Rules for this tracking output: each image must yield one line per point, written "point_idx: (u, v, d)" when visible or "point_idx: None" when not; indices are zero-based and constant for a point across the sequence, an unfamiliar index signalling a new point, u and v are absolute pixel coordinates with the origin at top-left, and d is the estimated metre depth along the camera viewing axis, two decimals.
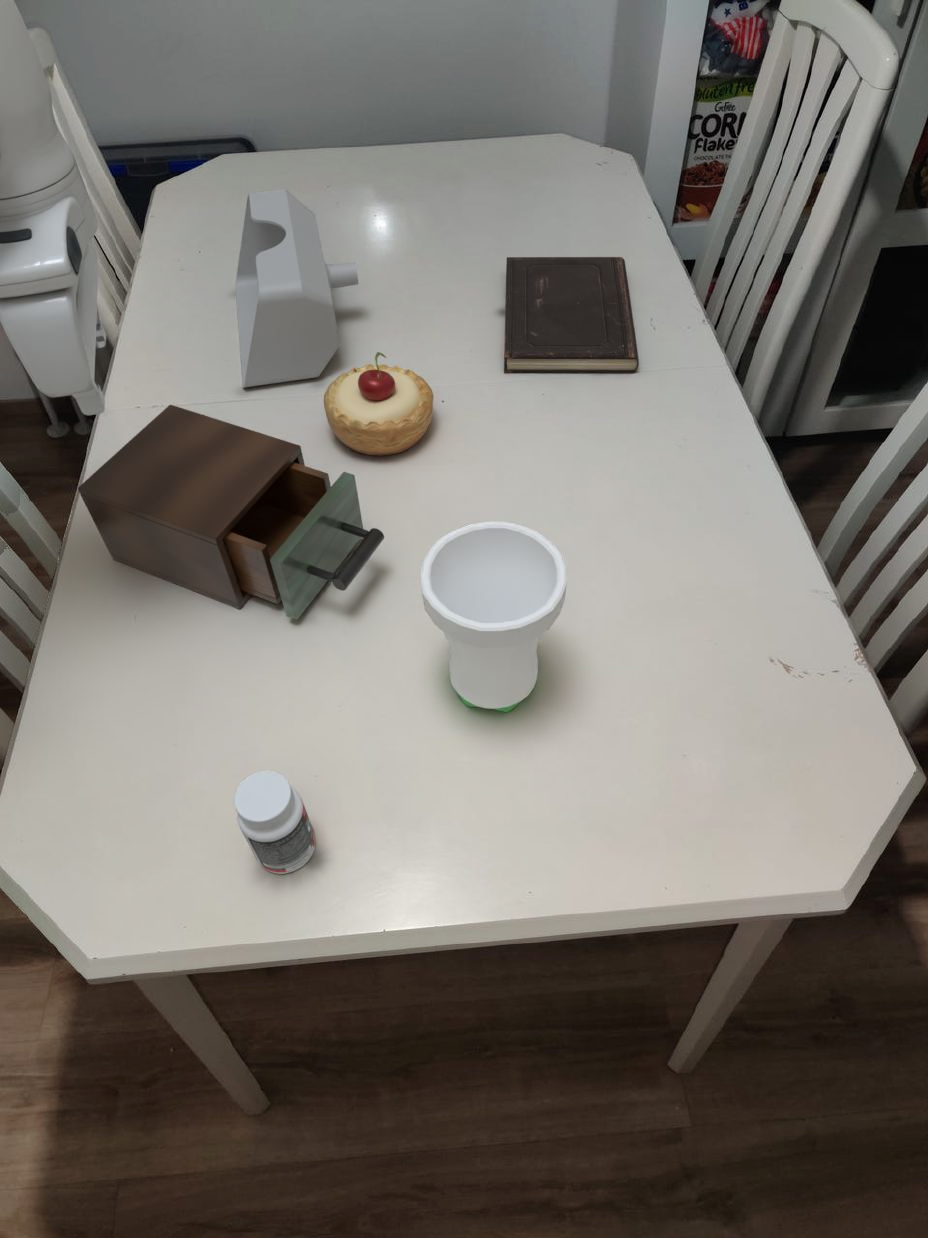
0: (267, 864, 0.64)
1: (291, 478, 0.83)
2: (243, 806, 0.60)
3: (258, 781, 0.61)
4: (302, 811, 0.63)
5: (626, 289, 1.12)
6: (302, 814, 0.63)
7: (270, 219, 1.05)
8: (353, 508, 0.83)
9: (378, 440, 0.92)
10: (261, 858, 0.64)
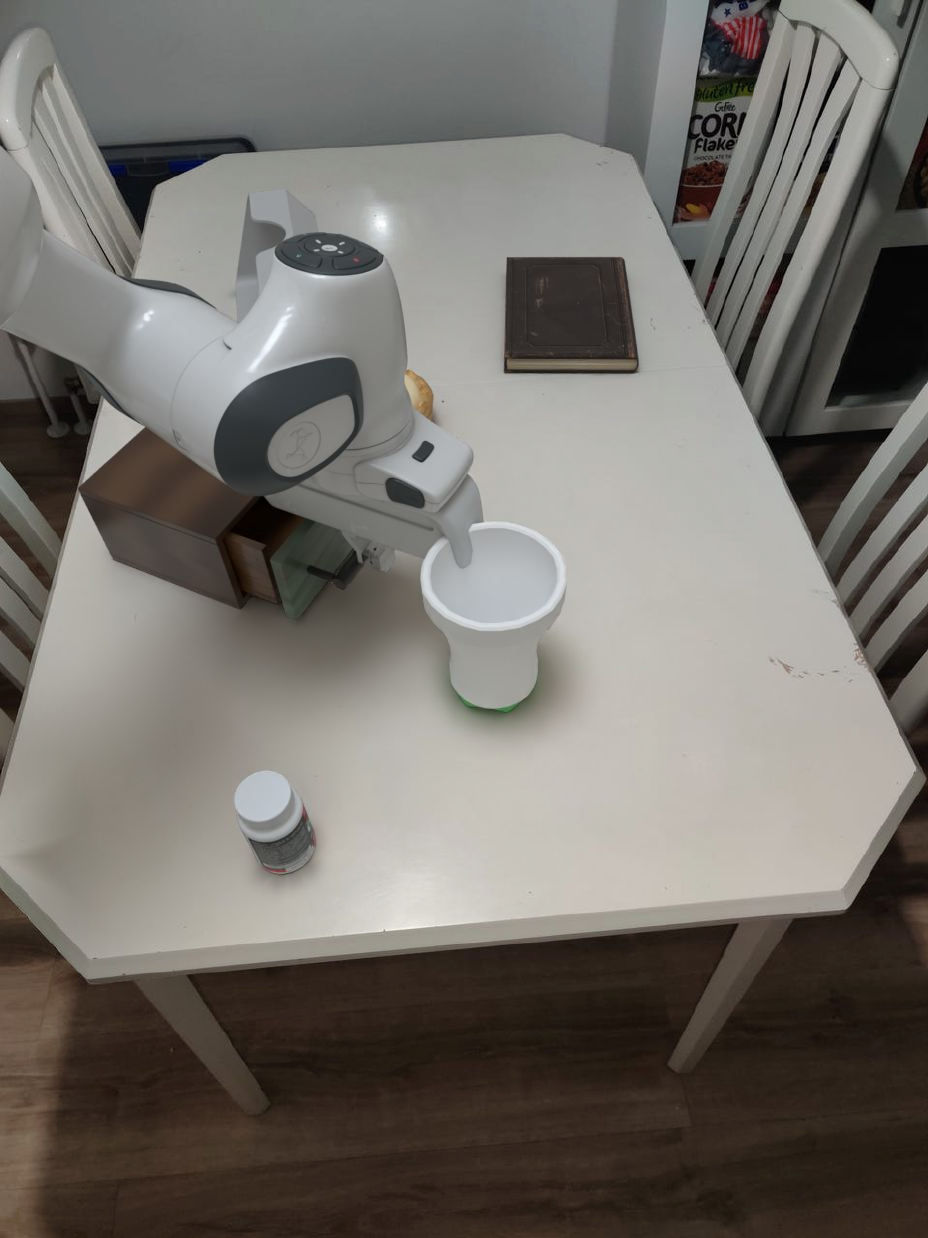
0: (267, 864, 0.64)
1: None
2: (243, 806, 0.60)
3: (258, 781, 0.61)
4: (302, 811, 0.63)
5: (626, 289, 1.12)
6: (302, 814, 0.63)
7: (270, 219, 1.05)
8: None
9: None
10: (261, 858, 0.64)
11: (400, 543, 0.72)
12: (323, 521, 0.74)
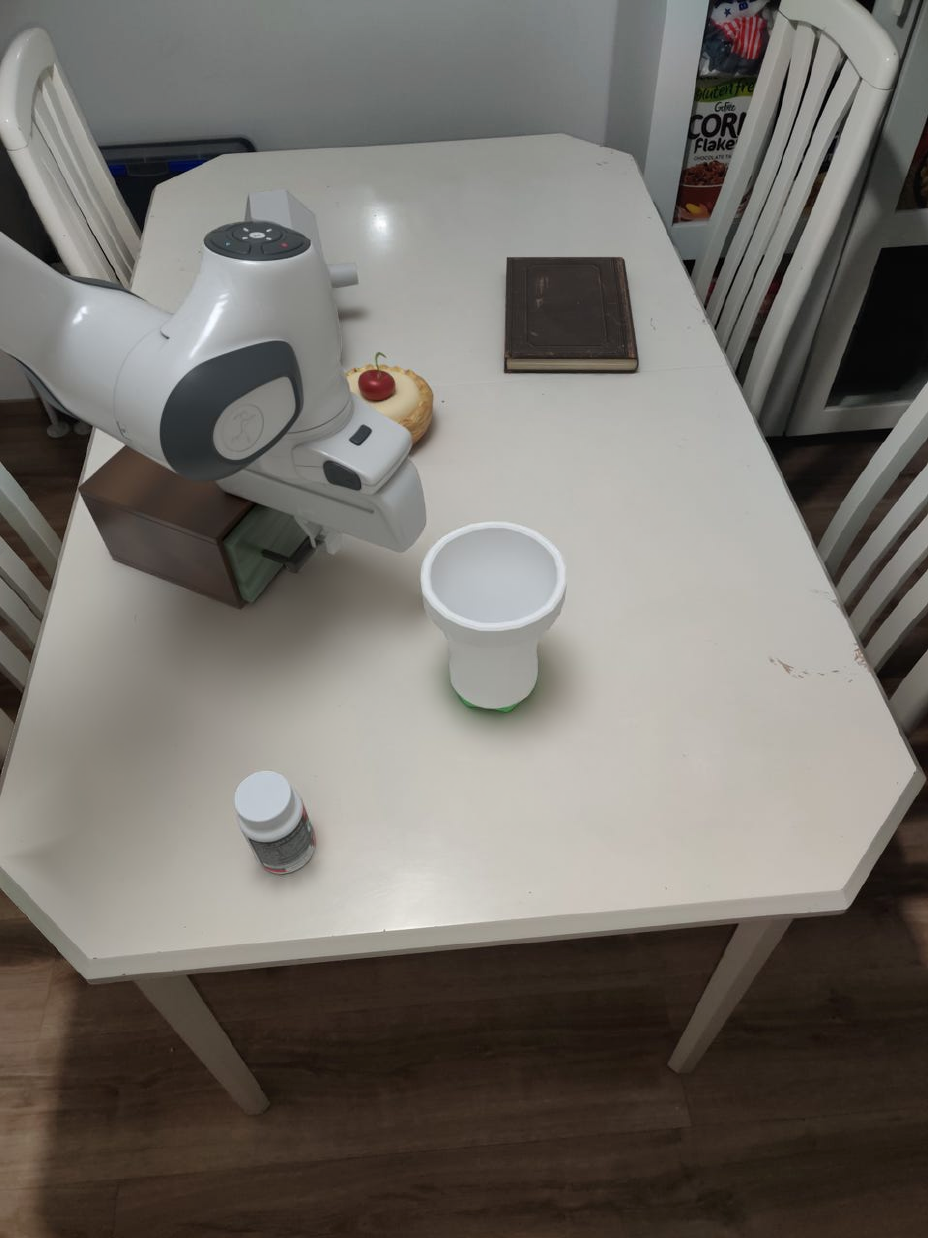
0: (267, 864, 0.64)
1: None
2: (243, 806, 0.60)
3: (258, 781, 0.61)
4: (302, 811, 0.63)
5: (626, 289, 1.12)
6: (302, 814, 0.63)
7: (270, 219, 1.05)
8: None
9: None
10: (261, 858, 0.64)
11: (344, 526, 0.73)
12: (272, 505, 0.76)
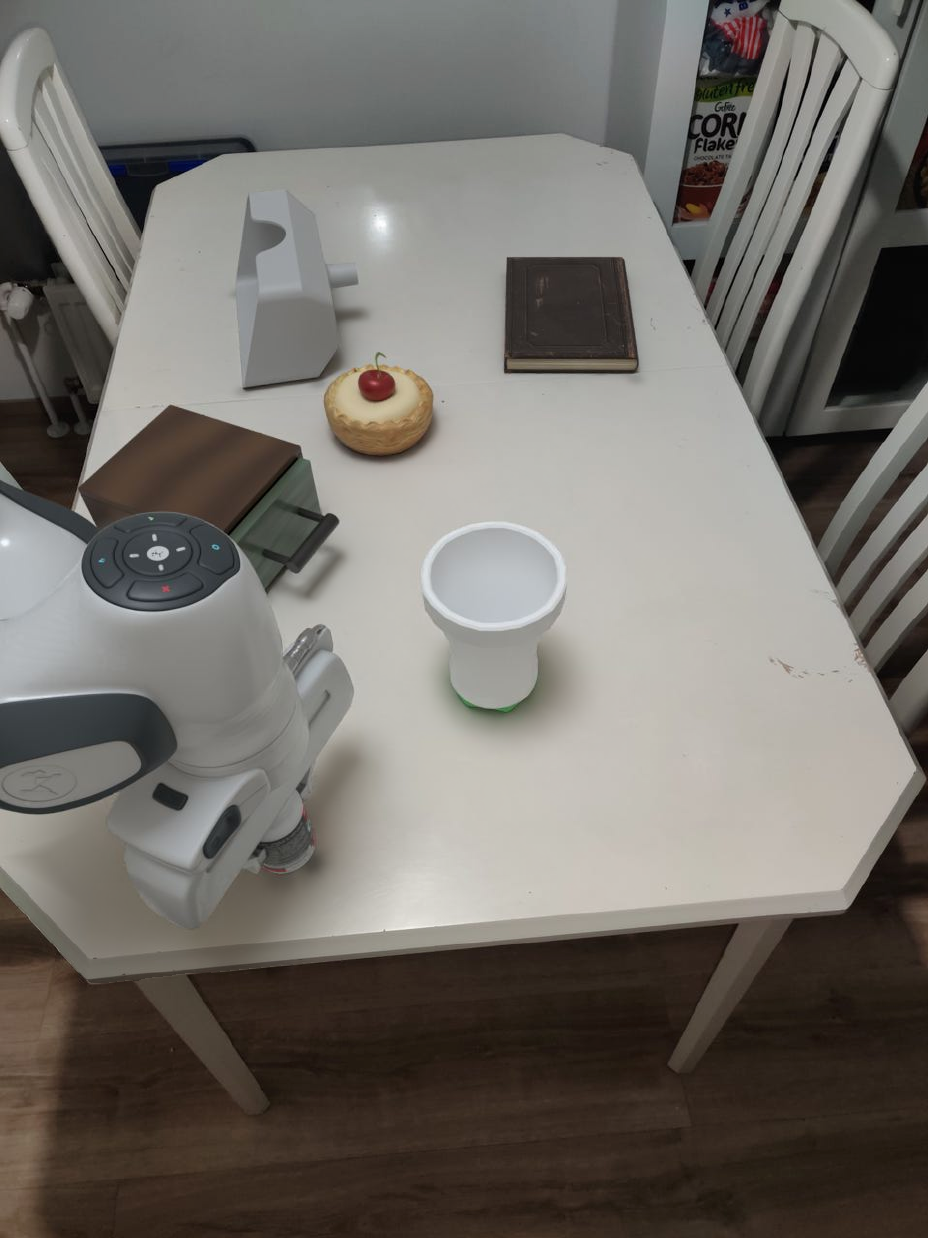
0: (267, 864, 0.64)
1: None
2: None
3: None
4: (302, 811, 0.63)
5: (626, 289, 1.12)
6: (302, 814, 0.63)
7: (270, 219, 1.05)
8: (310, 493, 0.84)
9: (378, 440, 0.92)
10: None
11: None
12: None
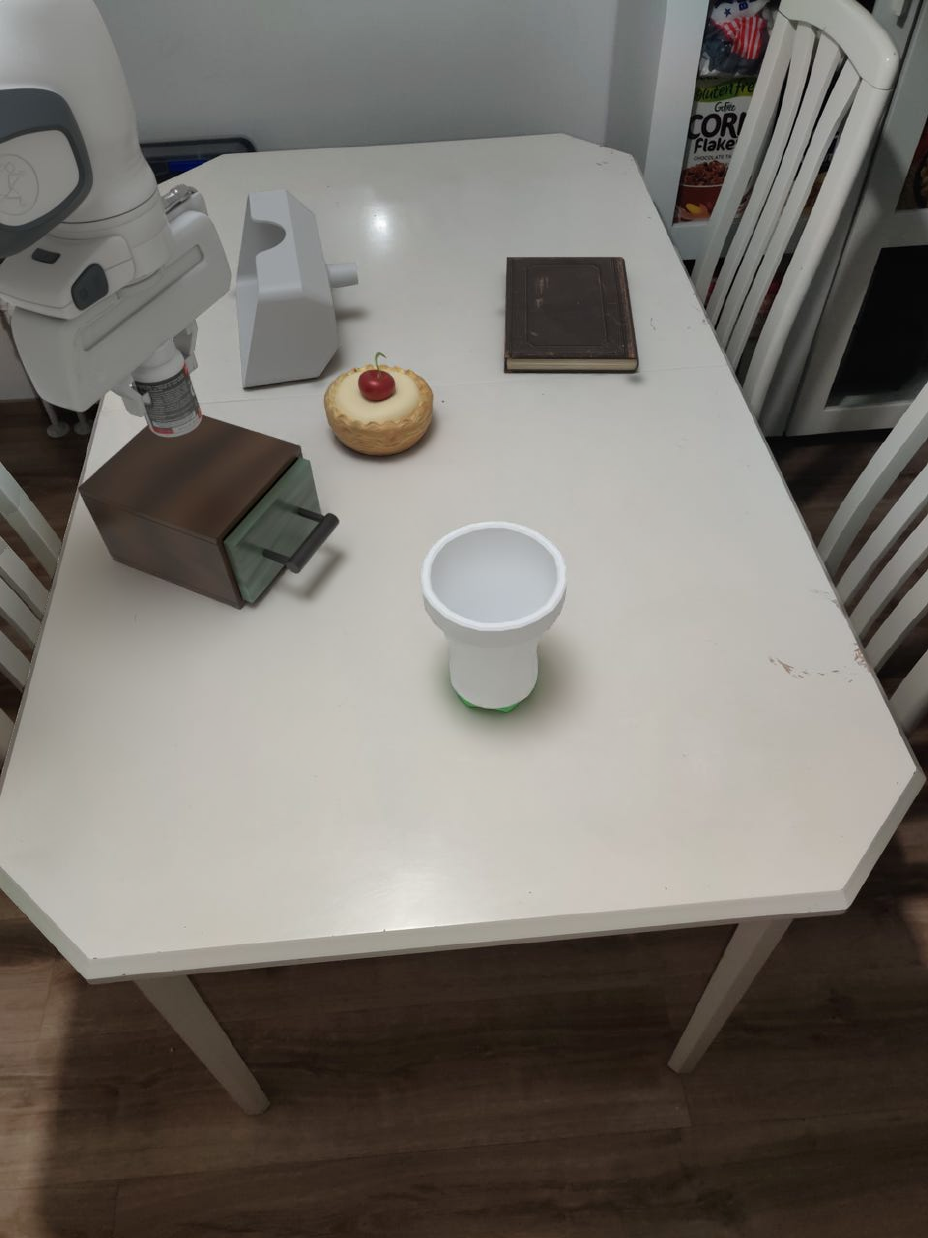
0: (156, 422, 0.74)
1: None
2: None
3: None
4: (183, 364, 0.72)
5: (626, 289, 1.12)
6: (183, 367, 0.72)
7: (270, 219, 1.05)
8: (310, 493, 0.84)
9: (378, 440, 0.92)
10: (150, 413, 0.74)
11: None
12: None
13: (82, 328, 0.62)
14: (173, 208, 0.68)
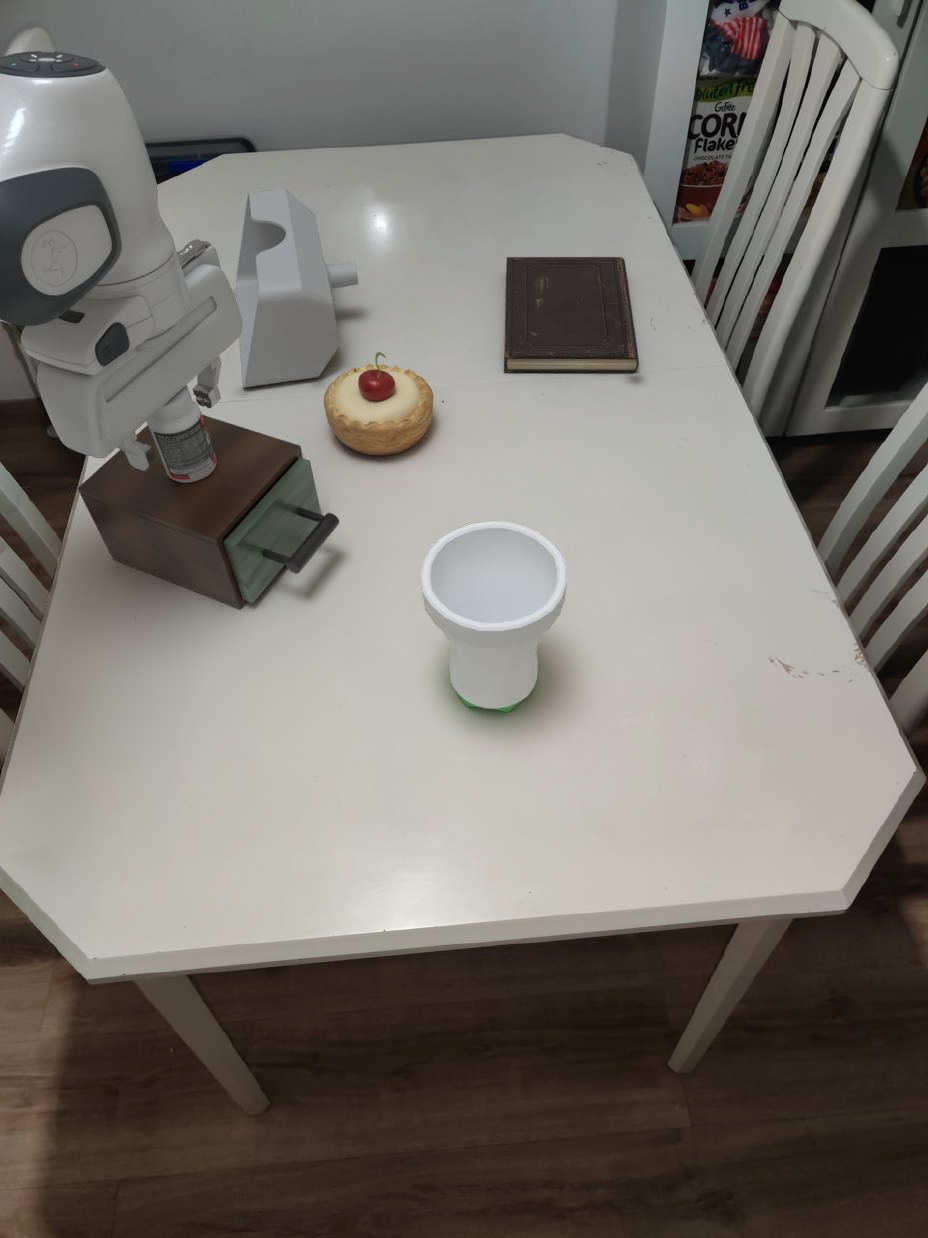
0: (173, 469, 0.78)
1: None
2: None
3: None
4: (200, 415, 0.76)
5: (626, 289, 1.12)
6: (200, 418, 0.76)
7: (270, 219, 1.05)
8: (310, 493, 0.84)
9: (378, 440, 0.92)
10: (167, 461, 0.78)
11: None
12: None
13: (104, 381, 0.66)
14: (188, 262, 0.72)
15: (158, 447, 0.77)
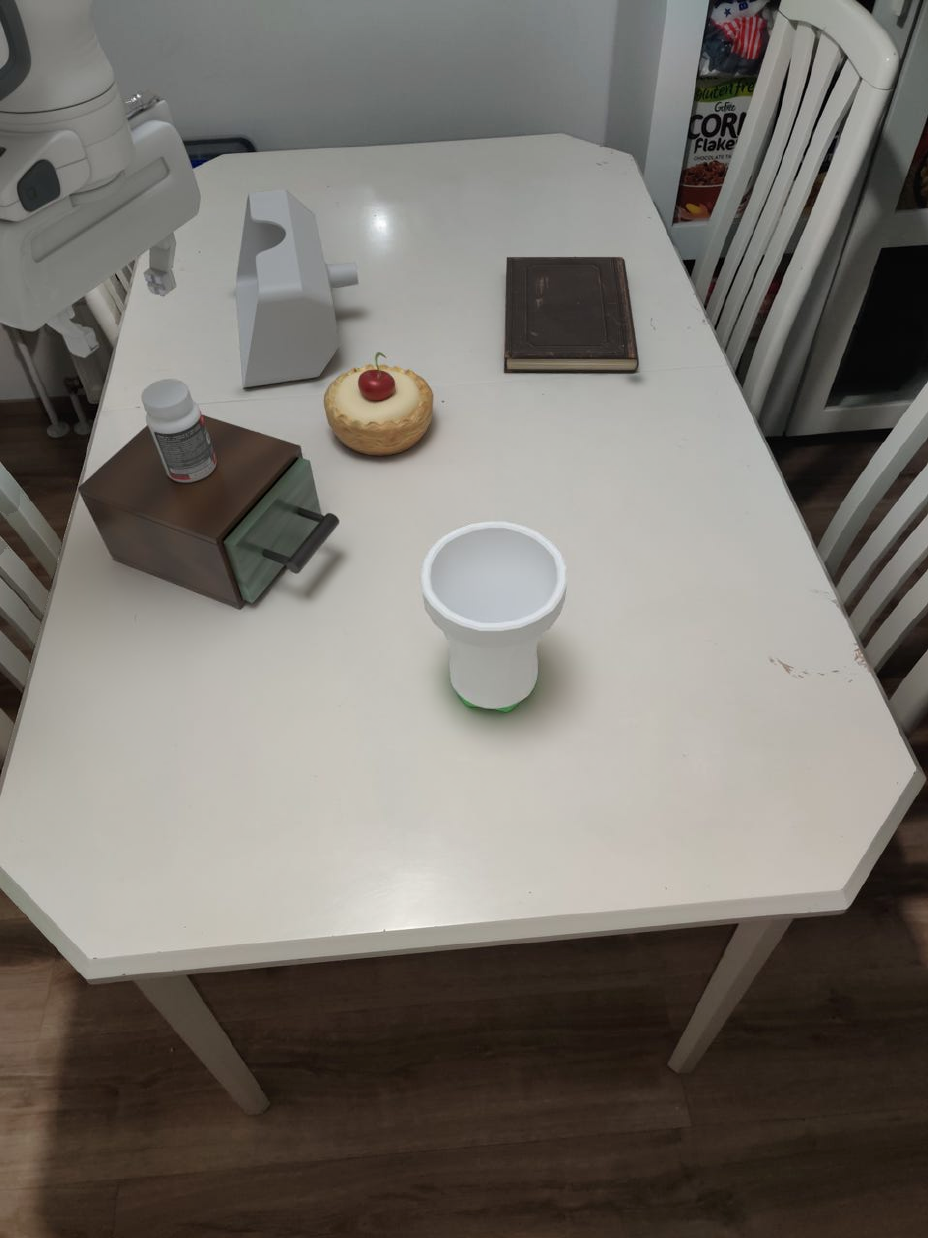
0: (173, 469, 0.78)
1: None
2: (148, 398, 0.74)
3: (162, 385, 0.75)
4: (200, 415, 0.76)
5: (626, 289, 1.12)
6: (200, 418, 0.76)
7: (270, 219, 1.05)
8: (310, 493, 0.84)
9: (378, 440, 0.92)
10: (167, 461, 0.78)
11: None
12: None
13: (31, 235, 0.56)
14: (135, 115, 0.63)
15: (158, 447, 0.77)
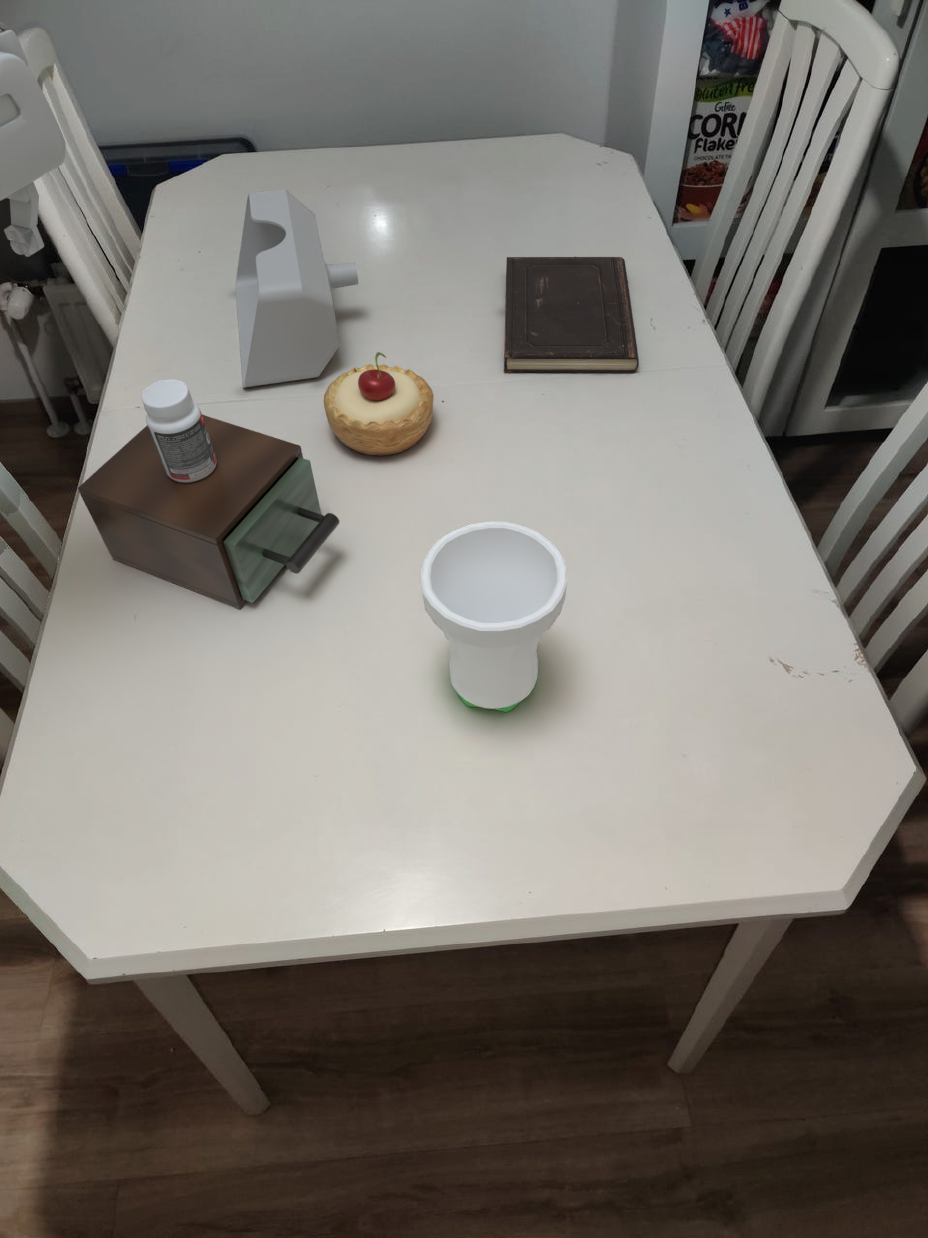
0: (173, 469, 0.78)
1: None
2: (148, 398, 0.74)
3: (162, 385, 0.75)
4: (200, 415, 0.76)
5: (626, 289, 1.12)
6: (200, 418, 0.76)
7: (270, 219, 1.05)
8: (310, 493, 0.84)
9: (378, 440, 0.92)
10: (167, 461, 0.78)
11: None
12: None
13: None
14: None
15: (158, 447, 0.77)
